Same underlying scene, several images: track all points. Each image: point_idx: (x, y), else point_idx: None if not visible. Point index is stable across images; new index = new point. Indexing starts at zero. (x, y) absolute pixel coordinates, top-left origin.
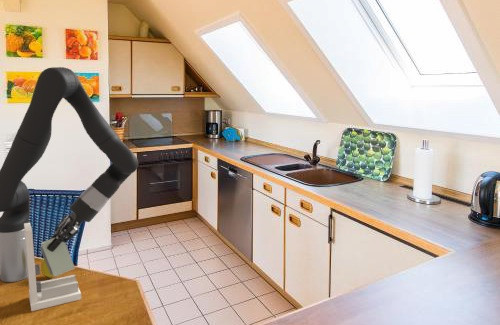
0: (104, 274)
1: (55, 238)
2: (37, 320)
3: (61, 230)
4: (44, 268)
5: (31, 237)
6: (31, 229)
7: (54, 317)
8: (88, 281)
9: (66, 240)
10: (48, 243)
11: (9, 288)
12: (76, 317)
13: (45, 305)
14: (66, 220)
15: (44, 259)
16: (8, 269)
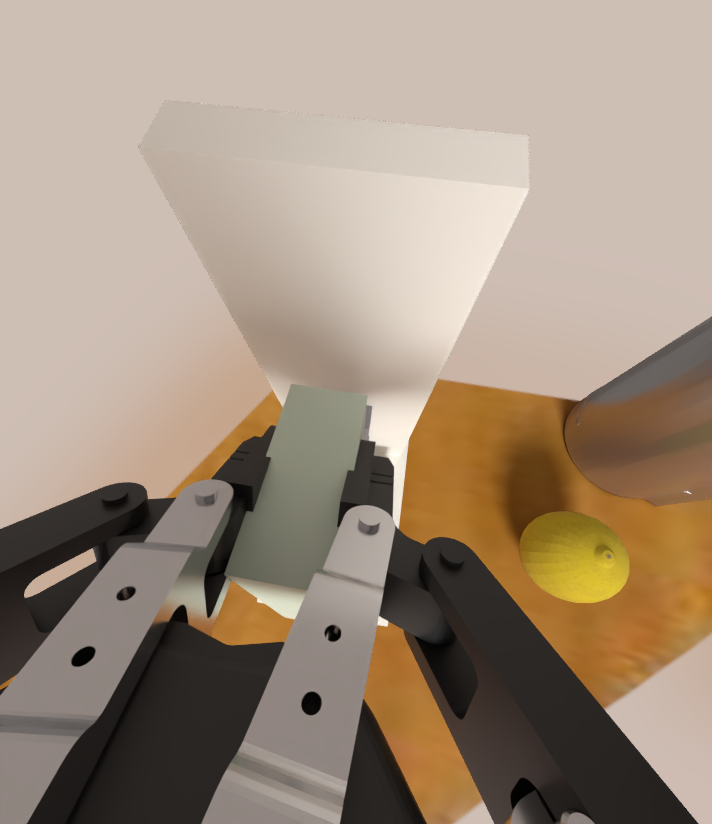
0: (439, 814)
1: (227, 481)
2: (235, 428)
3: (127, 550)
4: (541, 520)
5: (187, 218)
6: (198, 150)
7: (212, 474)
8: (406, 693)
9: (85, 572)
10: (277, 431)
11: (517, 405)
12: None
13: None
14: (224, 803)
15: (592, 527)
16: (603, 392)
